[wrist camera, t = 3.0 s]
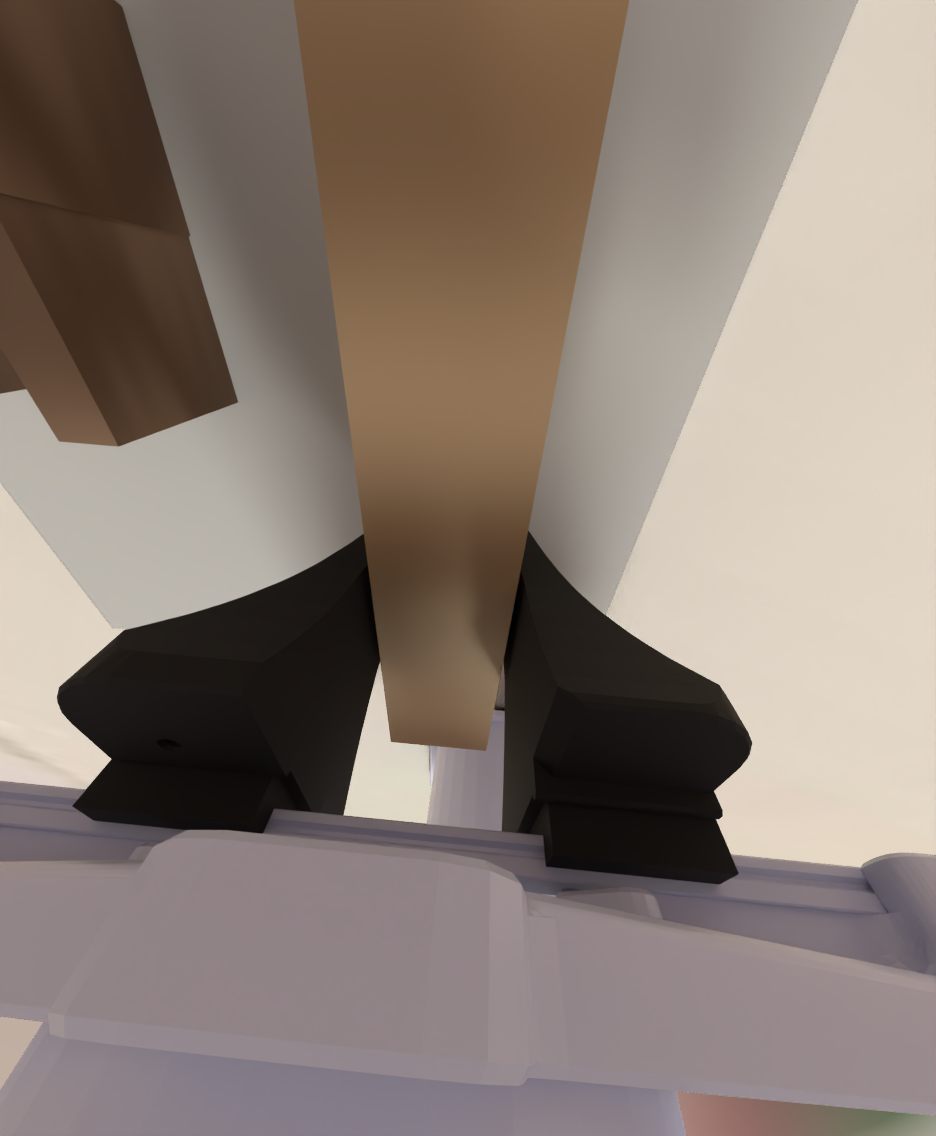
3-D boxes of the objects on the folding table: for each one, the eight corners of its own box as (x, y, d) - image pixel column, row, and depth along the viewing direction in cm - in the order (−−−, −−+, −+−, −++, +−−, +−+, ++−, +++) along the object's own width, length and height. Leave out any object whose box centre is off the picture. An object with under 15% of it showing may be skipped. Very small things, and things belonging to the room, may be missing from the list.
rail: (489, 632, 15) (486, 751, 11) (419, 626, 15) (391, 741, 11) (560, 126, 7) (656, -143, 3) (404, 114, 7) (270, -167, 3)
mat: (580, 664, 17) (582, 672, 16) (119, 621, 17) (111, 628, 17) (858, -33, 6) (879, -53, 5) (-427, -116, 6) (-478, -139, 6)
